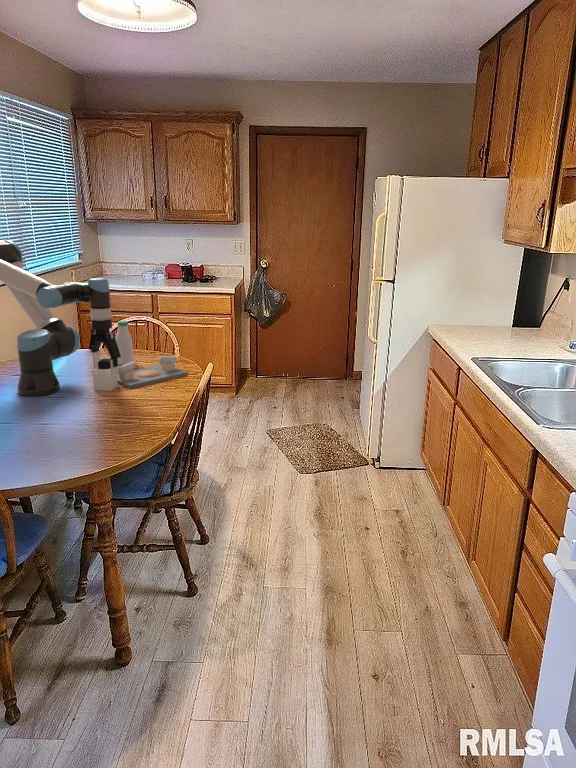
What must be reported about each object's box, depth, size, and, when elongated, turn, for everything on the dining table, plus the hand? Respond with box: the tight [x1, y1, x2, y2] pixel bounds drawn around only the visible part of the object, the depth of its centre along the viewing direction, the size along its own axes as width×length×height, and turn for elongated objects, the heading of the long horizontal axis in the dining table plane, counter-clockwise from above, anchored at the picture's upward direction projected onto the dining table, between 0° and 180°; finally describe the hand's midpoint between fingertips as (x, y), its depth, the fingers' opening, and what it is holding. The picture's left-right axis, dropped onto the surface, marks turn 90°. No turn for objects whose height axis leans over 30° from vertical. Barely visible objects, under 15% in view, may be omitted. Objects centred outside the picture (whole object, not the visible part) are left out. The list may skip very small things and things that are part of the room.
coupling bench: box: [117, 355, 189, 390], centre depth 239 cm, size 29×18×8 cm, turn 137°
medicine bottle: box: [92, 357, 119, 392], centre depth 223 cm, size 7×7×12 cm
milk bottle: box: [115, 320, 134, 366], centre depth 256 cm, size 8×8×20 cm
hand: (106, 371), depth 222 cm, fingers open, 13 cm apart
